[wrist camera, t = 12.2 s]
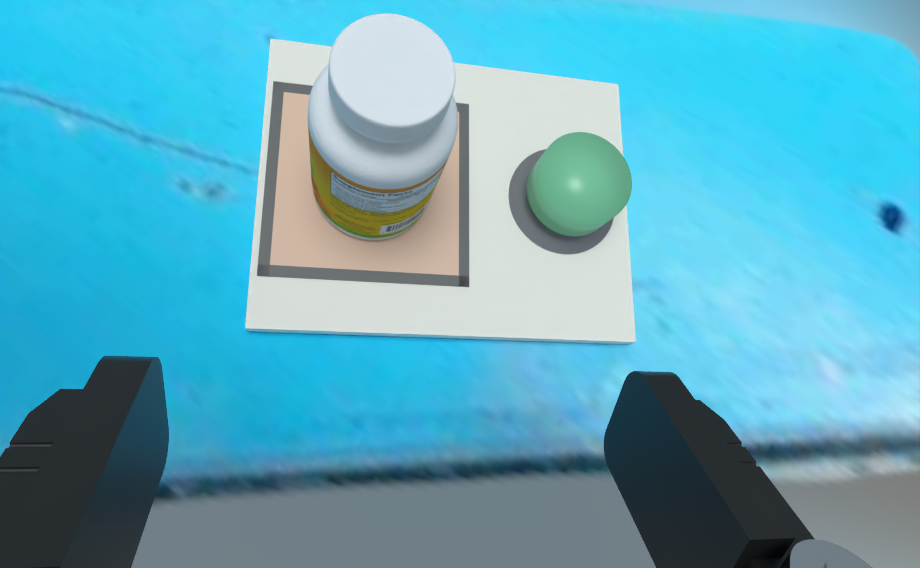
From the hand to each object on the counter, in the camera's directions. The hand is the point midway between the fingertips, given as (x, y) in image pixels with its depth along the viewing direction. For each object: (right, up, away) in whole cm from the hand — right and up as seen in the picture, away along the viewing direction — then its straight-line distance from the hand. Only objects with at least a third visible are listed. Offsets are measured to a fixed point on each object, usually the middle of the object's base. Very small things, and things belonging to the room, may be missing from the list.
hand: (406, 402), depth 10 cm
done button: (+6, +6, +18) cm, 21 cm away
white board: (+1, +6, +19) cm, 20 cm away
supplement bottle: (-3, +7, +17) cm, 19 cm away
